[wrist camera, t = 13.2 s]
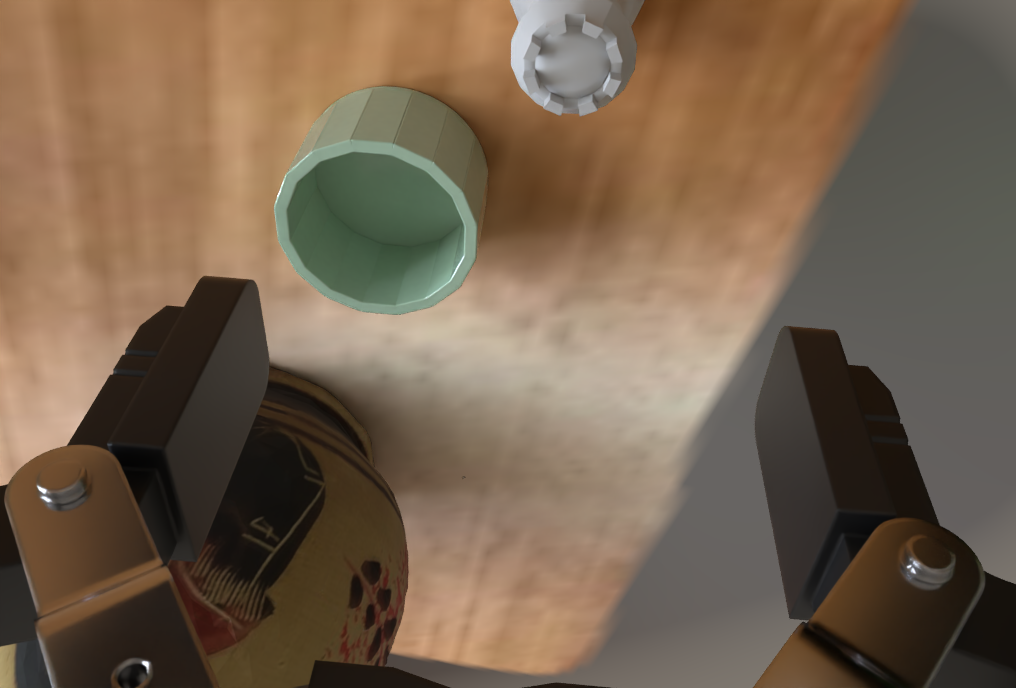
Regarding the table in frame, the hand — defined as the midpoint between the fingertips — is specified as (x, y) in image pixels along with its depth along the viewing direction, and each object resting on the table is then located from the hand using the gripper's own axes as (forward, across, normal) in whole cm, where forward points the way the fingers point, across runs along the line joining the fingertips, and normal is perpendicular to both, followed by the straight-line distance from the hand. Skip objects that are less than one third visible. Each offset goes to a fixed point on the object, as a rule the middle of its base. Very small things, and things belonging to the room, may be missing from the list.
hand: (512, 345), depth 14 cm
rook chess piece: (+19, -1, 0) cm, 19 cm away
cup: (+19, +5, +8) cm, 21 cm away
